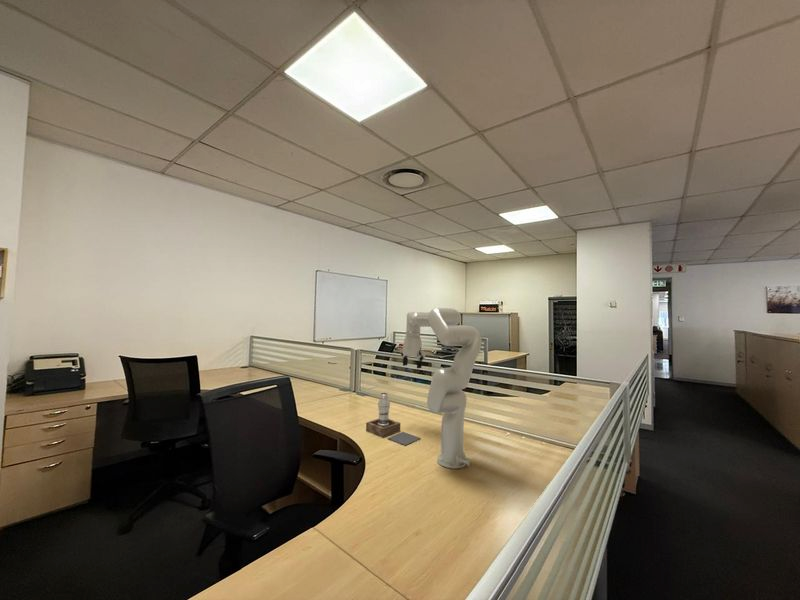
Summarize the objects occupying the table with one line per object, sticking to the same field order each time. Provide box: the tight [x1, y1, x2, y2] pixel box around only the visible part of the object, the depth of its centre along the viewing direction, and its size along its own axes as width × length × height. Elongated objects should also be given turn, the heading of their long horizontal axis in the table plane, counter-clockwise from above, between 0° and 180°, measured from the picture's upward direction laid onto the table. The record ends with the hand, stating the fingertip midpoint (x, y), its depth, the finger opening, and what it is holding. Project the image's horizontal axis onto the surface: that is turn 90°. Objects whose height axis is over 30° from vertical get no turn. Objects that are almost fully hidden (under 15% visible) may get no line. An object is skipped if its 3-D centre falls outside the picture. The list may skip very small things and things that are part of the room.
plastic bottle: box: [377, 392, 391, 428], centre depth 175 cm, size 6×7×20 cm
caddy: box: [365, 418, 401, 439], centre depth 174 cm, size 13×13×4 cm
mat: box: [386, 431, 422, 447], centre depth 164 cm, size 12×12×1 cm
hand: (412, 366), depth 175 cm, fingers open, 9 cm apart
